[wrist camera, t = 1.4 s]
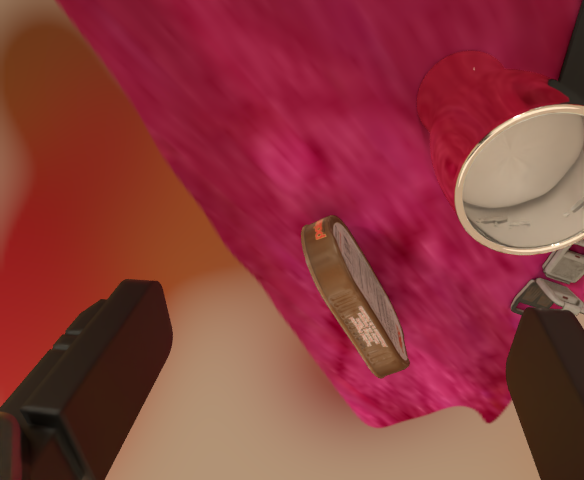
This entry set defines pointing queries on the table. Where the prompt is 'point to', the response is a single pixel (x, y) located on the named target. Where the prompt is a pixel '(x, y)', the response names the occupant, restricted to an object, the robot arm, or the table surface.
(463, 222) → the beer glass
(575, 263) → the strap clip
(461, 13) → the table surface
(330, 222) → the tin
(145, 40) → the table surface
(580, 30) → the mat
